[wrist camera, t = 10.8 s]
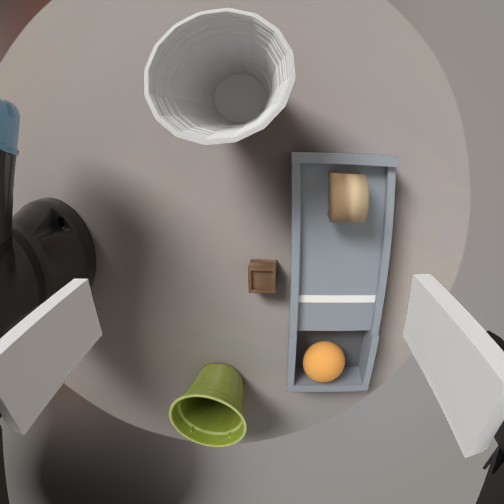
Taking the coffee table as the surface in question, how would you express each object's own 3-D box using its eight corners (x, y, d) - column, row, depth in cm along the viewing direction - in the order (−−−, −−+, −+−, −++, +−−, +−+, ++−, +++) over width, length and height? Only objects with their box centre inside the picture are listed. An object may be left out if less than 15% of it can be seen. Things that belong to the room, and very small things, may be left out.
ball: (297, 337, 37) (300, 369, 39) (307, 361, 32) (308, 394, 34) (337, 329, 37) (337, 361, 39) (351, 351, 33) (350, 385, 34)
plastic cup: (313, 79, 29) (325, 42, 18) (260, 165, 32) (244, 174, 21) (222, 34, 28) (190, -14, 17) (173, 118, 32) (117, 107, 20)
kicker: (327, 216, 31) (333, 227, 27) (328, 171, 29) (334, 174, 25) (357, 217, 30) (367, 227, 26) (359, 172, 29) (369, 176, 25)
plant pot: (175, 377, 43) (155, 419, 34) (212, 339, 40) (194, 382, 31) (228, 411, 44) (216, 455, 35) (269, 378, 41) (263, 425, 32)
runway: (287, 371, 40) (286, 391, 36) (291, 151, 32) (291, 152, 28) (362, 371, 39) (367, 390, 35) (386, 155, 30) (398, 156, 27)
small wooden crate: (251, 282, 37) (248, 292, 34) (251, 259, 36) (248, 267, 33) (276, 283, 36) (275, 293, 34) (276, 259, 35) (275, 268, 33)
